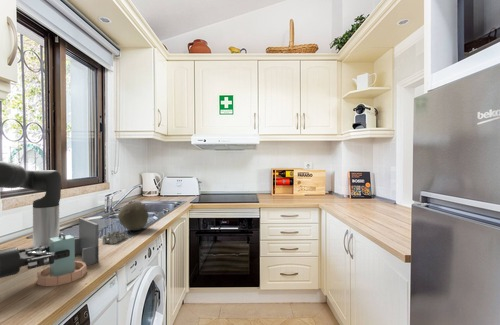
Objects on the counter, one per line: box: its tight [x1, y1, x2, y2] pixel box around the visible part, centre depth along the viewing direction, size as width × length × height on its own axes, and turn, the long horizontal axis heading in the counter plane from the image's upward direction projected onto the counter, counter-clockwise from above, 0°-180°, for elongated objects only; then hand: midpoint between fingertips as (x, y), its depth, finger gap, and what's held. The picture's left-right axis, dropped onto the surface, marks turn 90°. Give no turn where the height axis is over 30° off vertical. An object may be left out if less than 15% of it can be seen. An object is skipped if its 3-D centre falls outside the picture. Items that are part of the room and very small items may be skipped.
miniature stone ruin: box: [100, 229, 128, 245], centre depth 121 cm, size 11×8×4 cm
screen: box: [75, 217, 100, 267], centre depth 98 cm, size 5×17×14 cm, turn 51°
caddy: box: [49, 231, 76, 277], centre depth 83 cm, size 6×5×14 cm
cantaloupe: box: [117, 202, 149, 231], centre depth 138 cm, size 14×14×15 cm
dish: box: [36, 260, 87, 287], centre depth 83 cm, size 13×13×2 cm
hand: (65, 249), depth 83 cm, fingers open, 8 cm apart
